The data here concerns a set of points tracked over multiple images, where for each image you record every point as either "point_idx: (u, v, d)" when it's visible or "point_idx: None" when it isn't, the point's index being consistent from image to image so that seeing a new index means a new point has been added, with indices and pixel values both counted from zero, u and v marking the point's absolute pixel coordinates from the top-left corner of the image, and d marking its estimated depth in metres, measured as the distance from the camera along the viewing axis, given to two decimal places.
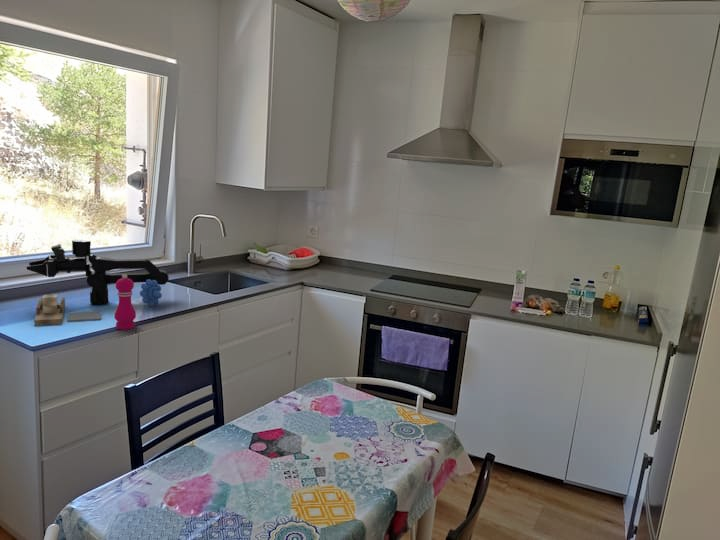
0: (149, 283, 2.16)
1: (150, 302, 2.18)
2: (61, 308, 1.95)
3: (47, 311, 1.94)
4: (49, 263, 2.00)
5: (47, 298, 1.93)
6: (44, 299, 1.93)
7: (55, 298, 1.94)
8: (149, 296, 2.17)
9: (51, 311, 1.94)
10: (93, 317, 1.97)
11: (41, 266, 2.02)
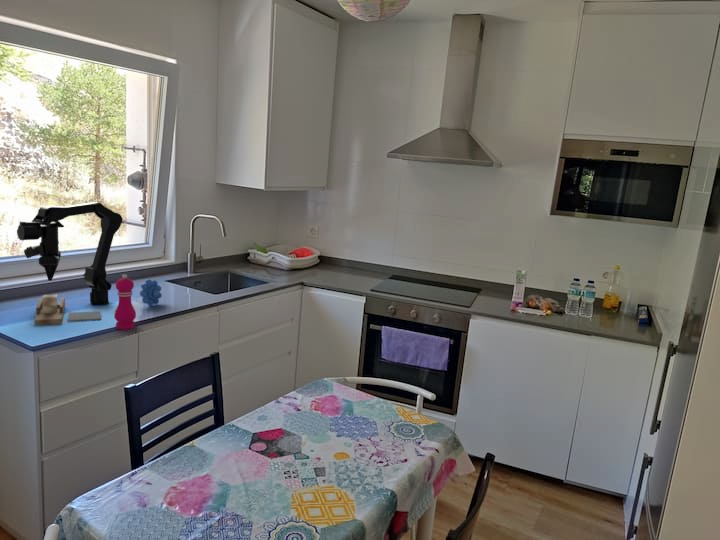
0: (149, 283, 2.16)
1: (150, 302, 2.18)
2: (61, 308, 1.95)
3: (47, 311, 1.94)
4: (40, 262, 1.91)
5: (47, 298, 1.93)
6: (44, 299, 1.93)
7: (55, 298, 1.94)
8: (149, 296, 2.17)
9: (51, 311, 1.94)
10: (93, 317, 1.97)
11: (47, 268, 1.95)
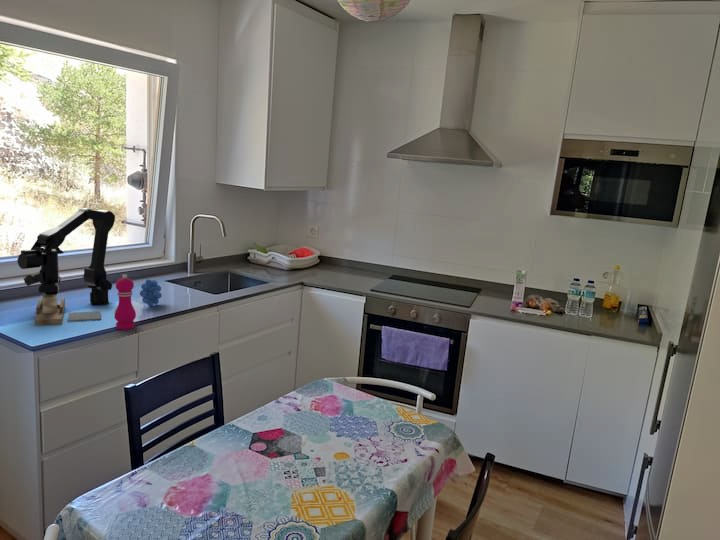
0: (149, 283, 2.16)
1: (150, 302, 2.18)
2: (61, 308, 1.95)
3: (47, 311, 1.94)
4: (40, 290, 1.89)
5: (47, 298, 1.93)
6: (44, 299, 1.92)
7: (55, 298, 1.94)
8: (149, 296, 2.17)
9: (51, 311, 1.94)
10: (93, 317, 1.97)
11: (48, 293, 1.97)
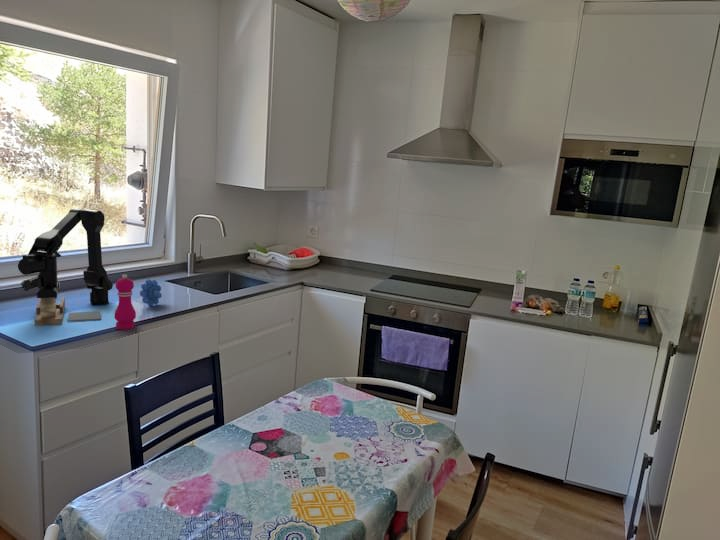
0: (149, 283, 2.16)
1: (150, 302, 2.18)
2: (61, 308, 1.95)
3: (45, 316, 1.88)
4: (38, 296, 1.82)
5: (45, 305, 1.86)
6: (42, 306, 1.85)
7: (53, 305, 1.87)
8: (149, 296, 2.17)
9: (49, 316, 1.89)
10: (93, 317, 1.97)
11: None
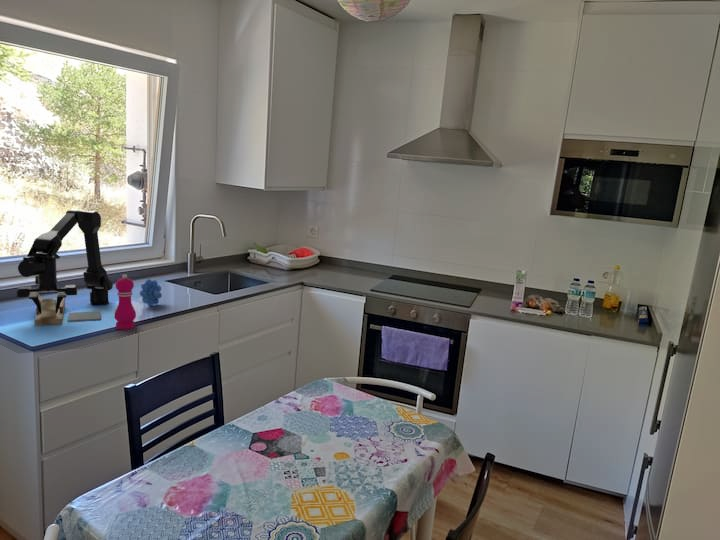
0: (149, 283, 2.16)
1: (150, 302, 2.18)
2: (61, 308, 1.95)
3: (46, 315, 1.88)
4: None
5: (46, 302, 1.88)
6: (43, 303, 1.87)
7: (54, 302, 1.89)
8: (149, 296, 2.17)
9: (50, 315, 1.89)
10: (93, 317, 1.97)
11: None
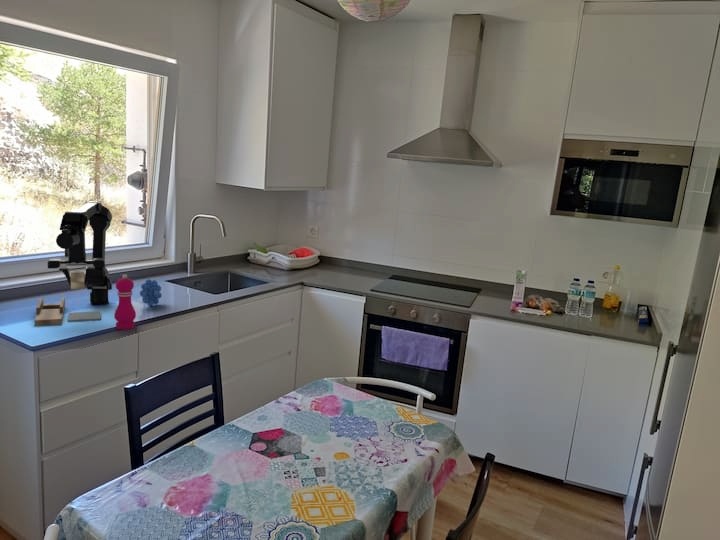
0: (149, 283, 2.16)
1: (150, 302, 2.18)
2: (61, 308, 1.95)
3: (75, 287, 1.94)
4: None
5: (75, 274, 1.93)
6: (72, 275, 1.93)
7: (83, 274, 1.94)
8: (149, 296, 2.17)
9: (79, 287, 1.94)
10: (93, 317, 1.97)
11: None
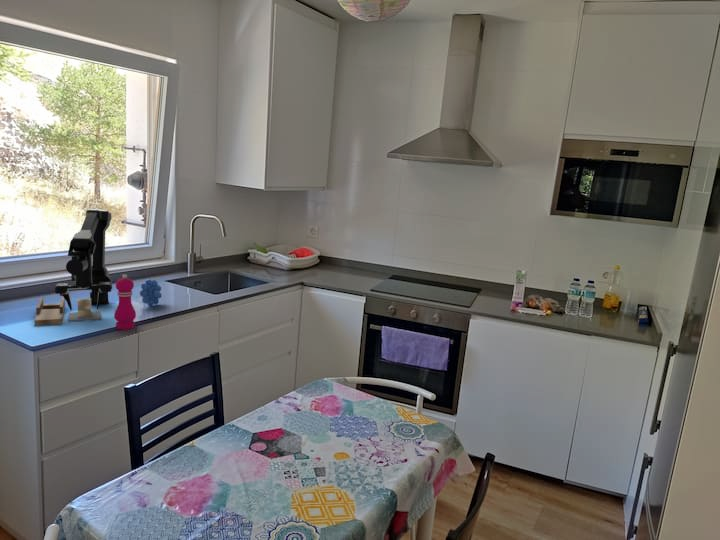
0: (149, 283, 2.16)
1: (150, 302, 2.18)
2: (61, 308, 1.95)
3: (82, 315, 1.97)
4: None
5: (82, 302, 1.96)
6: (79, 303, 1.96)
7: (90, 302, 1.97)
8: (149, 296, 2.17)
9: (86, 315, 1.98)
10: (93, 317, 1.97)
11: None
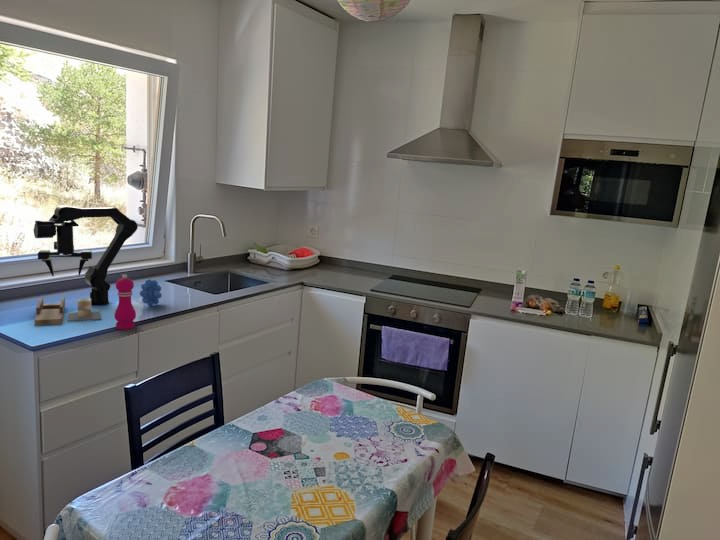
0: (149, 283, 2.16)
1: (150, 302, 2.18)
2: (61, 308, 1.95)
3: (82, 315, 1.97)
4: None
5: (82, 302, 1.96)
6: (79, 303, 1.96)
7: (90, 302, 1.97)
8: (149, 296, 2.17)
9: (86, 315, 1.98)
10: (93, 317, 1.97)
11: None
